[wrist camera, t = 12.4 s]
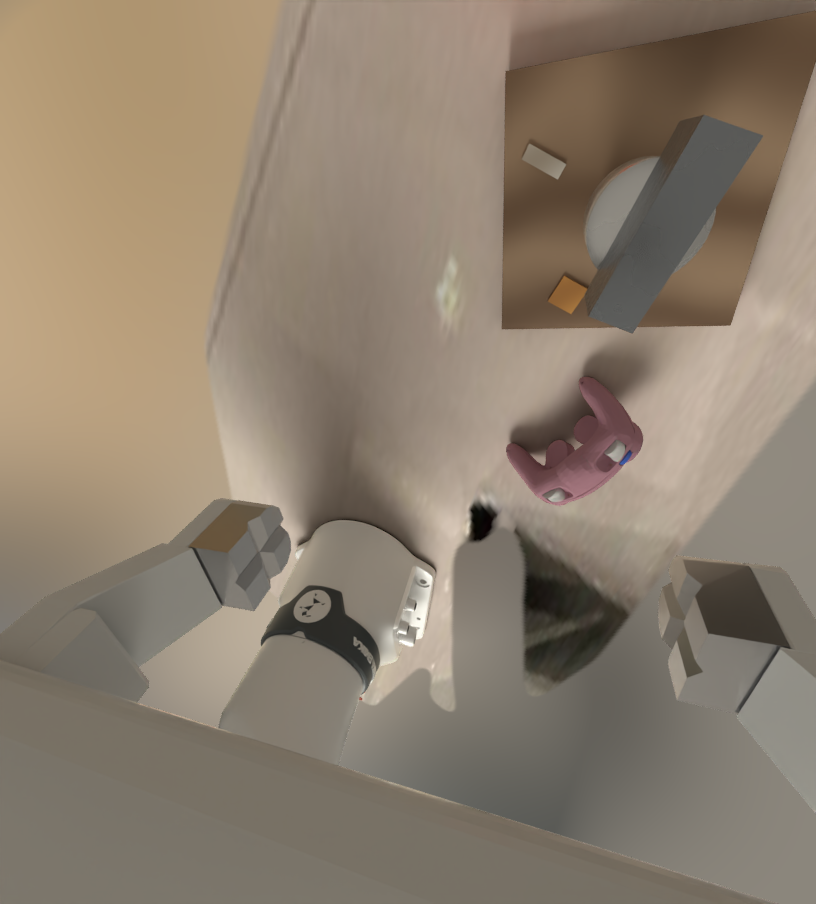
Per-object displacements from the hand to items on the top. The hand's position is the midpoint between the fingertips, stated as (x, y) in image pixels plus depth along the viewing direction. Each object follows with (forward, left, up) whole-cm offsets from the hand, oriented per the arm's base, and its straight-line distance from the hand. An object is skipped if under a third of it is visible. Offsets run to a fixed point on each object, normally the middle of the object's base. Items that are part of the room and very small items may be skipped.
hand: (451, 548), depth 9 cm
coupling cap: (+3, -6, -21) cm, 22 cm away
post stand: (+4, -6, -26) cm, 27 cm away
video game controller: (-13, -4, -26) cm, 29 cm away
